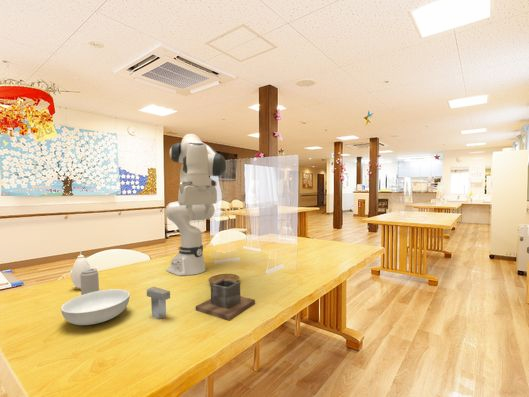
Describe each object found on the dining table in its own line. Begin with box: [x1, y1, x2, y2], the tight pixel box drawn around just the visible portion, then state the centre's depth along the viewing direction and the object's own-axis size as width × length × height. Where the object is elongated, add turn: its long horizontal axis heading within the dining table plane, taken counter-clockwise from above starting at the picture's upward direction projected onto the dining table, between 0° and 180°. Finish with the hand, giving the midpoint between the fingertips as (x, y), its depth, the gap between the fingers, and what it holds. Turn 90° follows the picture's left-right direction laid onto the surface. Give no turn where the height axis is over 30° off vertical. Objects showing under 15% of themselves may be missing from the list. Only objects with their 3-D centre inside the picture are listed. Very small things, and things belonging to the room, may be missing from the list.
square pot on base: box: [195, 279, 256, 321], centre depth 105 cm, size 16×16×9 cm
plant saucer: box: [208, 273, 240, 285], centre depth 132 cm, size 15×15×3 cm
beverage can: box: [80, 268, 100, 296], centre depth 117 cm, size 6×6×12 cm
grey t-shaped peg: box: [146, 286, 171, 320], centre depth 99 cm, size 9×3×10 cm, turn 58°
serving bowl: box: [60, 288, 131, 326], centre depth 98 cm, size 21×21×7 cm
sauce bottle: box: [71, 249, 92, 290], centre depth 129 cm, size 8×8×18 cm
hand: (199, 215), depth 113 cm, fingers open, 8 cm apart
